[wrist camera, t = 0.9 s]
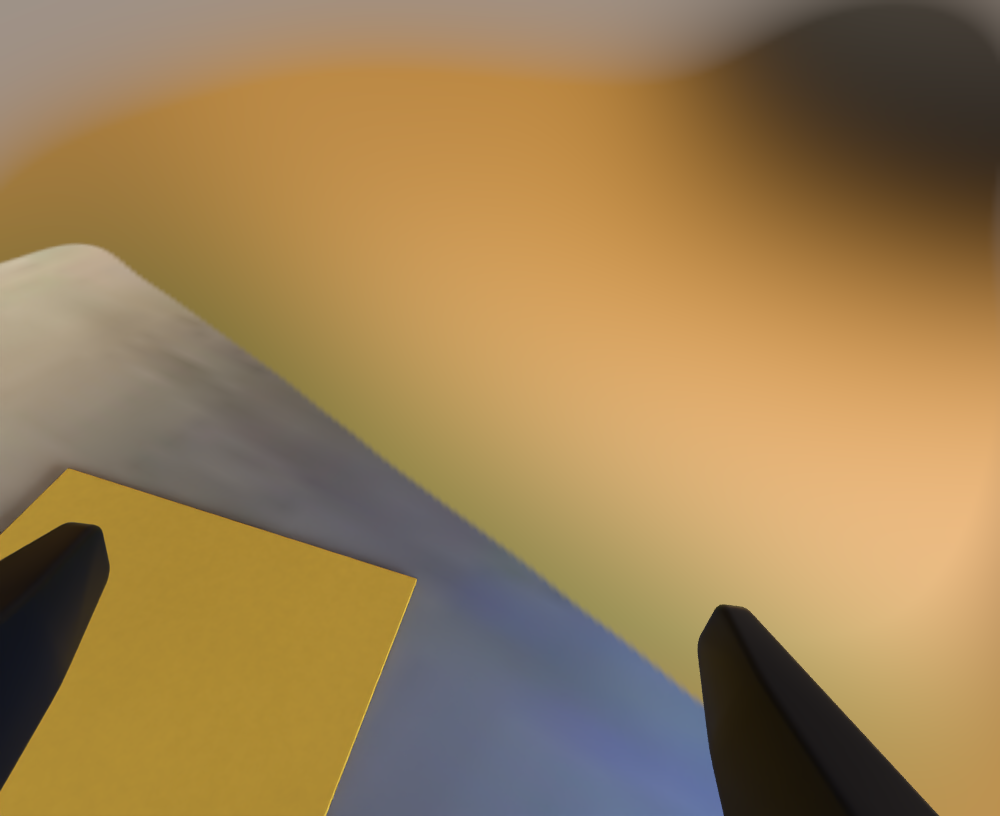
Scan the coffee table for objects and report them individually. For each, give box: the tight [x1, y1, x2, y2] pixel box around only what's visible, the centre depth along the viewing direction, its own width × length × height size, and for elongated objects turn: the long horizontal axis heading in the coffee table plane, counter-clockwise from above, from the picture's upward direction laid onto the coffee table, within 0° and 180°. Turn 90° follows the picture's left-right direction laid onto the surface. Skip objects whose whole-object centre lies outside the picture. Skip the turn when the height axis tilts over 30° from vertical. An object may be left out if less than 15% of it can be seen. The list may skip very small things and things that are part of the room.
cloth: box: [0, 468, 417, 816], centre depth 21 cm, size 19×16×1 cm
